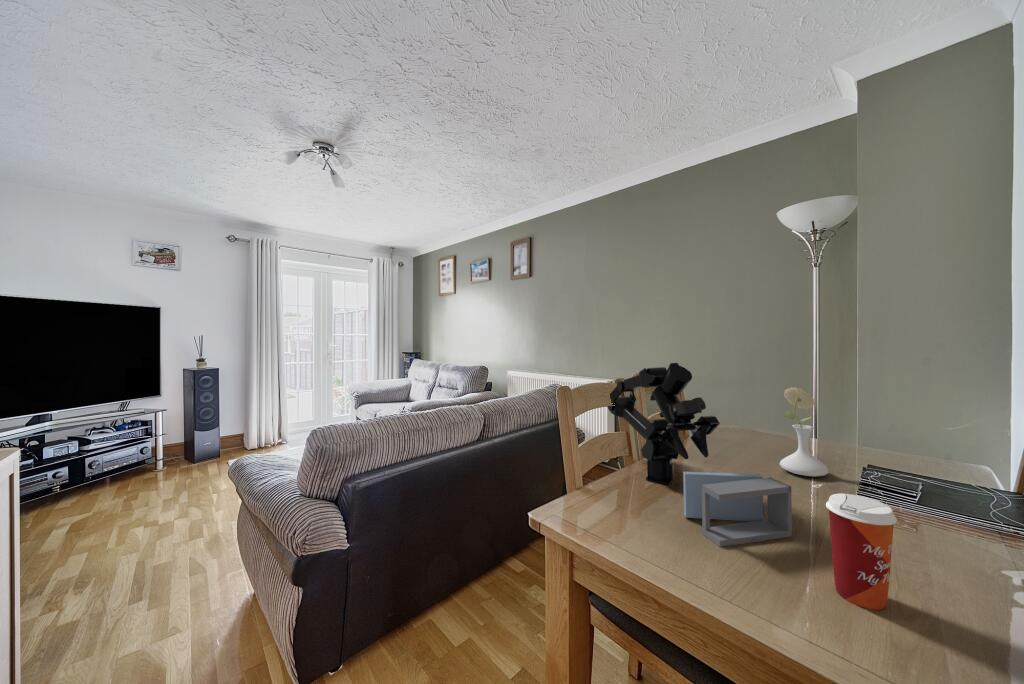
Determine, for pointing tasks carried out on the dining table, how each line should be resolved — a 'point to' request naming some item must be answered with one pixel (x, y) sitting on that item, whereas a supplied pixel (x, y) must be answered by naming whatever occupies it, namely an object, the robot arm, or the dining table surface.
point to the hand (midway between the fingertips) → (697, 457)
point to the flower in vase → (802, 439)
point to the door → (726, 508)
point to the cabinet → (755, 530)
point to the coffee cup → (861, 548)
